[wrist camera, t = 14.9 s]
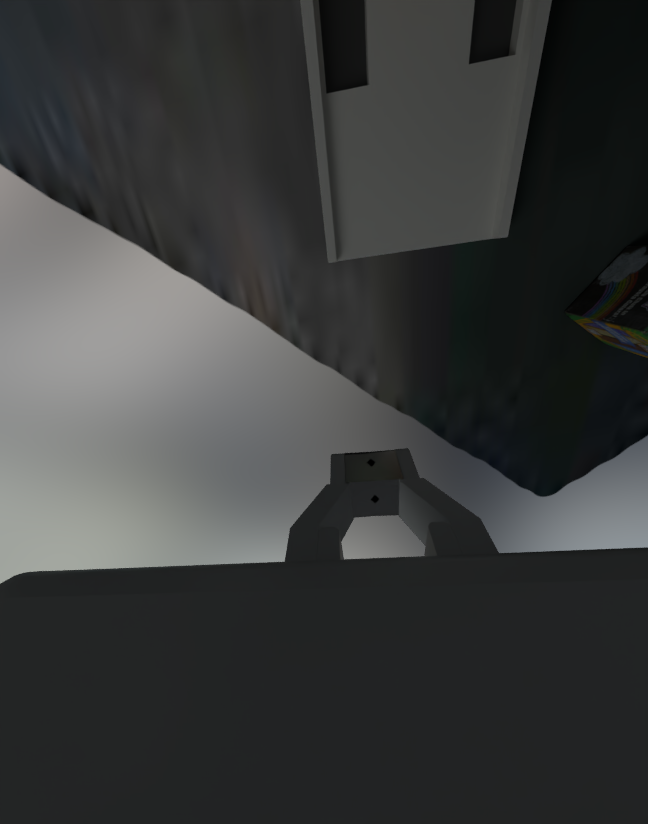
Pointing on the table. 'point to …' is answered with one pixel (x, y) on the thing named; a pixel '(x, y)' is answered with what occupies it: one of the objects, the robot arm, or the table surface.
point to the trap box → (420, 117)
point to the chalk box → (618, 303)
